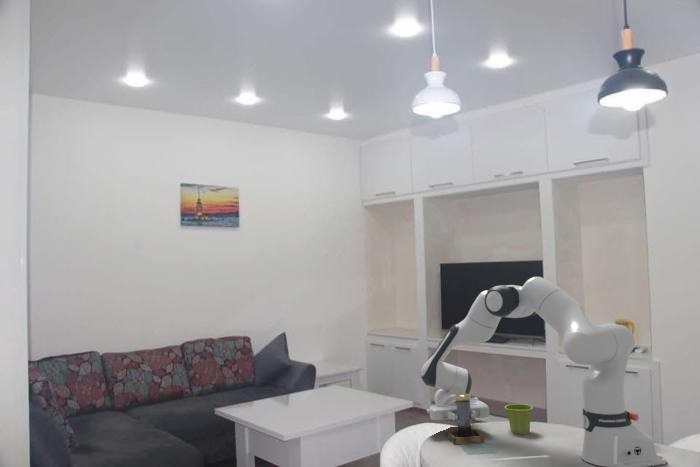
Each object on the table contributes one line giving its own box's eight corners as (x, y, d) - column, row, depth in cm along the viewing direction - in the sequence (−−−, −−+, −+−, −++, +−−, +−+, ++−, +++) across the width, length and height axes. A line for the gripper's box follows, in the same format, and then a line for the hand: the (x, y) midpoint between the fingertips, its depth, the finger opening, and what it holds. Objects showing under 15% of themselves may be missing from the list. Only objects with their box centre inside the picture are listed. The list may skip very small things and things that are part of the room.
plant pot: (500, 432, 200) (499, 407, 200) (517, 427, 205) (515, 402, 206) (523, 438, 192) (521, 411, 193) (539, 432, 198) (538, 406, 199)
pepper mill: (470, 436, 194) (468, 393, 195) (474, 441, 189) (472, 396, 190) (456, 437, 193) (454, 393, 194) (459, 441, 189) (457, 396, 190)
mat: (487, 445, 185) (487, 444, 185) (496, 454, 176) (496, 452, 176) (460, 447, 184) (460, 445, 184) (468, 456, 175) (468, 454, 176)
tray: (476, 436, 196) (475, 428, 196) (484, 444, 187) (483, 436, 187) (447, 438, 195) (446, 430, 195) (453, 446, 186) (453, 438, 186)
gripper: (424, 400, 204) (433, 409, 190) (481, 396, 206) (493, 405, 192) (425, 418, 204) (434, 428, 190) (482, 414, 205) (494, 425, 191)
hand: (464, 417), depth 191 cm, fingers closed on pepper mill, 4 cm apart
